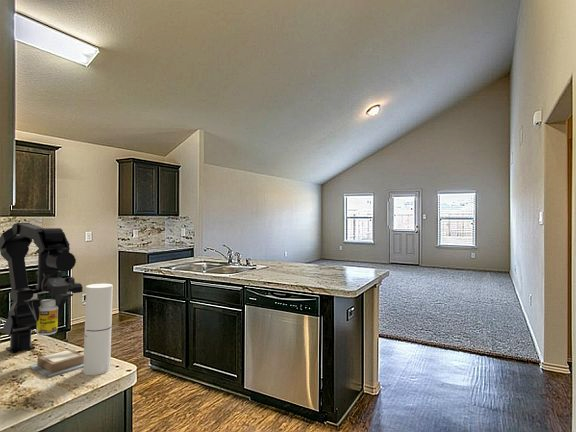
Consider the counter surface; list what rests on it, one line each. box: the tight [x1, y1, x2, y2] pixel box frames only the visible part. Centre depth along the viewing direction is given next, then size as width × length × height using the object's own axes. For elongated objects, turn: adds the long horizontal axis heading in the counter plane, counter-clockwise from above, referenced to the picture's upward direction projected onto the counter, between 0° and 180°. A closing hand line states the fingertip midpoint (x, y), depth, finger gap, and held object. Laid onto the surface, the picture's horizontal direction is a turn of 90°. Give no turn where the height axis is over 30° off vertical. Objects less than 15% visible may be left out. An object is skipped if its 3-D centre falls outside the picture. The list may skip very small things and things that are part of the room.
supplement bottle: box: [35, 298, 59, 336], centre depth 118 cm, size 6×6×10 cm
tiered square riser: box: [29, 348, 84, 379], centre depth 115 cm, size 12×12×3 cm
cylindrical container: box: [82, 283, 114, 376], centre depth 113 cm, size 7×7×25 cm
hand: (47, 318), depth 118 cm, fingers closed on supplement bottle, 5 cm apart
